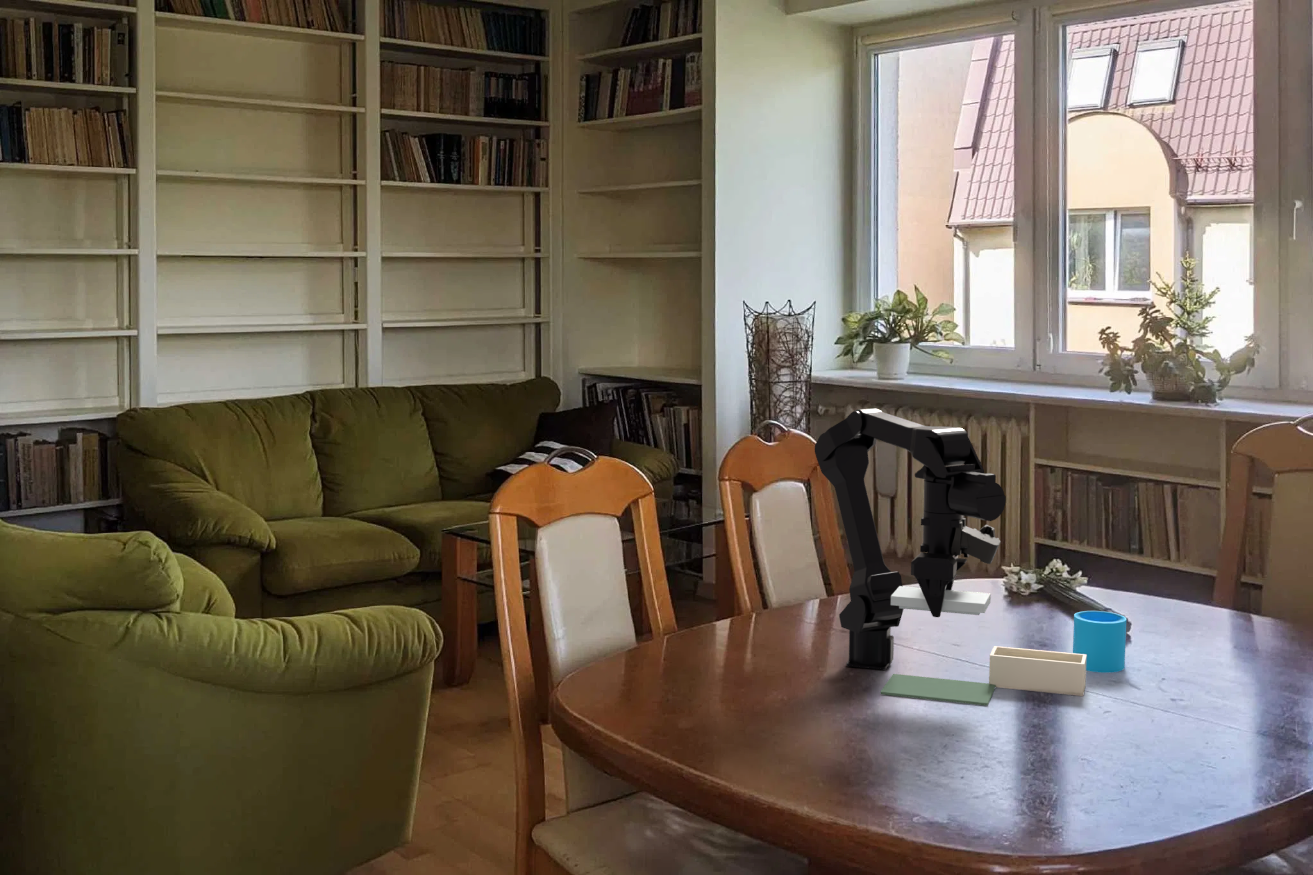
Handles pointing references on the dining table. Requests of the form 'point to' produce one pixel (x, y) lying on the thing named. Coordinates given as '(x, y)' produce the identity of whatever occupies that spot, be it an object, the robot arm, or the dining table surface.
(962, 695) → the felt mat
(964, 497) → the robot arm
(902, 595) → the lid
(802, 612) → the dining table surface
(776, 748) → the dining table surface
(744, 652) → the dining table surface
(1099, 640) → the mug
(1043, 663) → the pencil box
